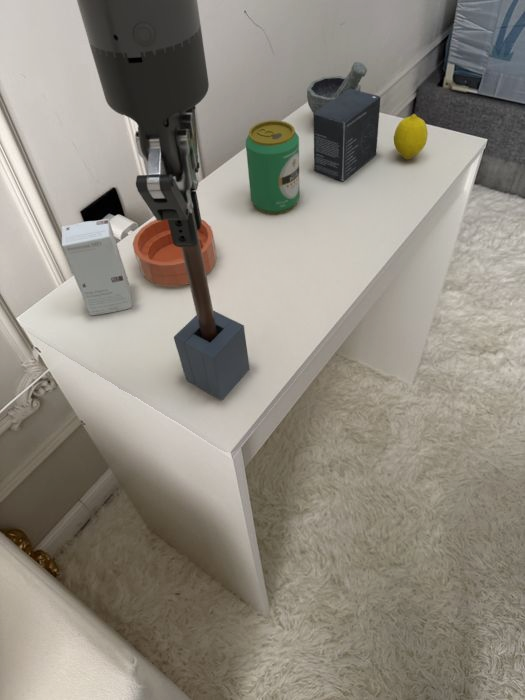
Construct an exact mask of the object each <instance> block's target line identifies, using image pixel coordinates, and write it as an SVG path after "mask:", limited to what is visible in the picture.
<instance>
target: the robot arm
mask: <svg viewBox="0 0 525 700" xmlns="http://www.w3.org/2000/svg"><path fill="white" fill-rule="evenodd" d="M76 2H77V6H78V9H79V13H80V17H81V20H82V23H83V27H84V31H85V33H86V36H87V40H88V44H89V47H90V51H91V54H92V58H93V61H94V63H95V69H96V71H97V75H98V78H99V82H100V85H101V89H102V92H103V96H104V100H105V102H106V103H107V105H108V106H109V108H110V109H112V110H113V111H114V112H115V113H117V114H119V115H121V116H124V117H127V118H129V119H131V120H133V122H135V123H136V125H137V130H136V131H135V134H134V139H135V143H136V149H137V153H138V155H139V156H140V157H141V158H142V160H143V164H144V169H145V173H146V174H138V175H136V179H135V180H136V181H135V187H136V190H137V192H138V193H139V195H140V197H141V198H142V200H143V202H144V203H145V204H146V206H147V207H148V208H149V210H150V212H151V214H152V215H153V216H154V218H155V220H158V221H161V220H168V224H169V228H170V232H171V236H172V240H173V244H174V245H175V246H177V247H194V246H196V245H197V243H198V233H197V230H199V229H200V228H201V223H202V221H201V219H202V215H201V209H200V206H199V205H200V204H199V200H198V194H197V191H198V187H199V180H198V179H197V174H198V173H199V172H200V171H199V169H200V162H199V153H198V137H197V124H196V123H197V122H196V111H195V110H196V106H197V105H198V104H199V103H201V101H203V99H205V97H206V95H207V93H208V91H209V76H208V68H207V61H206V55H205V48H204V47H205V46H204V39H203V32H202V25H201V17H200V11H199V2H198V0H76ZM193 210H194V212H193ZM194 215H195V217H194ZM195 220H196V222H195ZM196 225H197V227H196Z"/></svg>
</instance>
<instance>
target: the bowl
mask: <svg viewBox="0 0 525 700" xmlns="http://www.w3.org/2000/svg"><path fill="white" fill-rule="evenodd" d="M201 221H202V223H201V228H200V229H199V230H198V236H199V241H200V246H201V251H202V256H203V261H204V266H205V272H206V275H207V274H208V273H210V272H211V271H212V269H213V267H214V266H215V264H216V261H217V249H216V243H215V238H214V232H213V229H212V227H211V225H209V223H208V222H207V221H206V220H204V219H202V218H201ZM132 248H133V253H134V256H135V258H136V261H137V265H138V268H139V271H140V273H141V275H142V276H143V277H144V278H145V279H146V280H147V281H149V282H151V283H152V284H155V285H160V286H163V287H180V286H184V285H188V284H189V280H188V275H187V271H186V267H185V262H184V258H183V254H182V249H181V247H177V246H175V245H174V244H173V240H172V236H171V232H170V228H169V224H168V220H161V221H158V220H157V219H155V220H152V221H150V222H148V223H147V224H145V225H144V226H142V227H141V228H140V230H138V232H137V233H136V234H135V236H134V239H133V242H132ZM189 285H190V284H189Z"/></svg>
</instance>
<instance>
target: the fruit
mask: <svg viewBox="0 0 525 700" xmlns="http://www.w3.org/2000/svg"><path fill="white" fill-rule="evenodd" d="M428 135H429V134H428V127H427V124H426V122H425V120H424V119H422V118H421V117H420V116H417V114H416V113H412V114H411V115H410V116H407V117H405V118H402V119H401V121H399V123H398V124H397V126H396V128H395V130H394V135H393V145H394V148H395V150H396V151H397V152H398V153H399V155H401V156H402V158H403V159H405V160H410V159H412V157H414V156H416V155H418V154H419V153H420V152H421V151H422V150H423V149H424V147H425V146H426V144H427V140H428Z"/></svg>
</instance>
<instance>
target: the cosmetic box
mask: <svg viewBox="0 0 525 700" xmlns="http://www.w3.org/2000/svg"><path fill="white" fill-rule="evenodd" d="M115 237H116V236H115V233H114V231H113V228H112V224H111V220H110V219H109V218H104V219H98V220H88V221H82V222H79V223H73V224H67V225H62V226H61V248H62V251H63V253H64V255H65V257H66V260H67V262H68V265H69V268H70V270H71V272H72V274H73V277H74V279H75V282H76V284H77V286H78V289H79V292H80V294H81V296H82V299H83V301H84V303H85V306H86V308H87V310H88V314H89V315H90V316H98V315H103V314H104V315H105V314H110V313H111V314H112V313H114V312H121V311H125V310H129V309H131V308H133V302H132V300H133V299H132V288H131V285H130V282H129V279H128V276H127V272H126V269H125V266H124V263H123V260H122V257H121V253H120V250H119V246H118V244H117V241H116V240H117V239H116V238H115Z"/></svg>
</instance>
